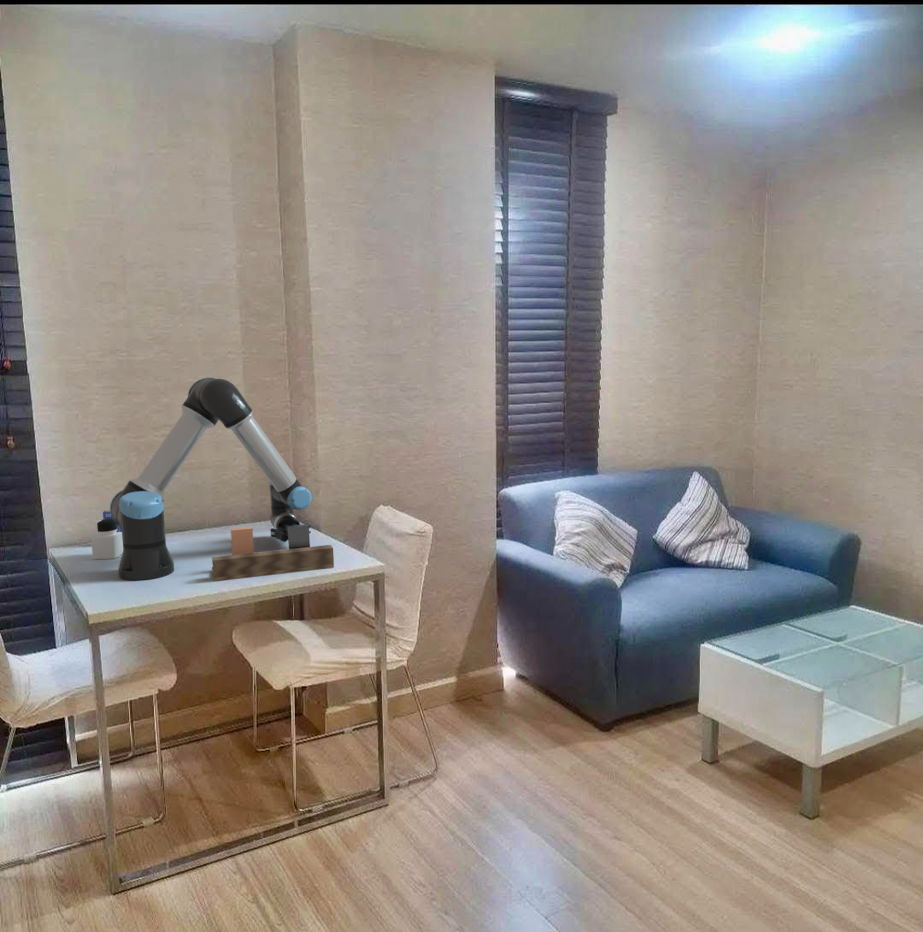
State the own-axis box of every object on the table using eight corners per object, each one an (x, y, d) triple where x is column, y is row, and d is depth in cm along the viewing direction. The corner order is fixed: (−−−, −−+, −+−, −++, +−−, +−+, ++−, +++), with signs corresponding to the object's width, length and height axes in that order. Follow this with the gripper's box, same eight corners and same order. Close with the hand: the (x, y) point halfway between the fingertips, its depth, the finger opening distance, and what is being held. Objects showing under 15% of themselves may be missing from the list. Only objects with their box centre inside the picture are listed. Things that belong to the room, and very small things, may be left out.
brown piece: (214, 581, 218) (212, 560, 217) (212, 570, 229) (210, 550, 228) (334, 567, 230) (333, 547, 229) (326, 557, 241) (325, 538, 240)
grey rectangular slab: (290, 563, 230) (288, 527, 229) (289, 561, 232) (287, 526, 230) (310, 561, 232) (308, 525, 231) (309, 559, 234) (307, 524, 233)
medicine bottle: (124, 553, 251) (121, 517, 250) (115, 559, 244) (112, 521, 242) (102, 553, 251) (99, 517, 249) (92, 559, 244) (89, 522, 242)
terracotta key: (233, 567, 228) (231, 530, 226) (233, 565, 230) (230, 529, 228) (254, 564, 230) (252, 528, 228) (254, 563, 232) (251, 527, 230)
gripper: (307, 535, 257) (321, 552, 235) (267, 539, 253) (277, 556, 231) (306, 513, 256) (319, 527, 234) (266, 516, 252) (276, 532, 230)
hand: (298, 542), depth 233 cm, fingers closed
